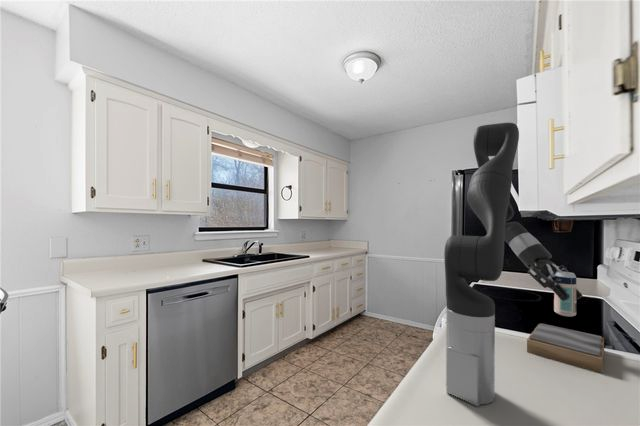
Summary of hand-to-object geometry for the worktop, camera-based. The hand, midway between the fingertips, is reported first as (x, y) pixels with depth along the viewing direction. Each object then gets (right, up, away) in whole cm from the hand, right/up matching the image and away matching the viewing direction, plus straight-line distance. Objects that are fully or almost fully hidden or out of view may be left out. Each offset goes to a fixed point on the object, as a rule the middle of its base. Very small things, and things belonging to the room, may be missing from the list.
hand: (572, 298), depth 79 cm
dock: (-1, -15, +1) cm, 16 cm away
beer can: (-1, -5, +2) cm, 6 cm away
